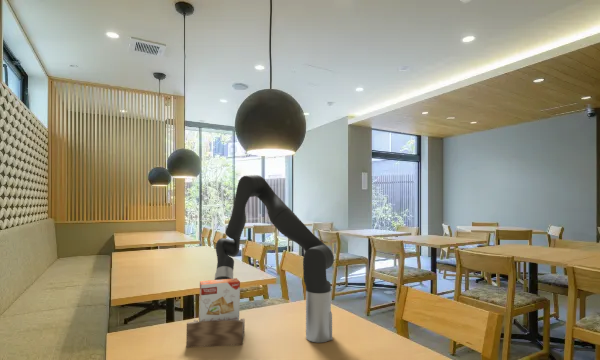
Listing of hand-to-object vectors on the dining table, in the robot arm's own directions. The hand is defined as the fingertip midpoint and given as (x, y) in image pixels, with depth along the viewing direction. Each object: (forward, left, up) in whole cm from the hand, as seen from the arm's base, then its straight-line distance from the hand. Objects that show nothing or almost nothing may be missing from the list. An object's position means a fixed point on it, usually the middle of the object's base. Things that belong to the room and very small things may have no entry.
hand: (218, 321), depth 126 cm
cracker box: (-1, +4, -5) cm, 6 cm away
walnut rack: (0, +3, -5) cm, 6 cm away
